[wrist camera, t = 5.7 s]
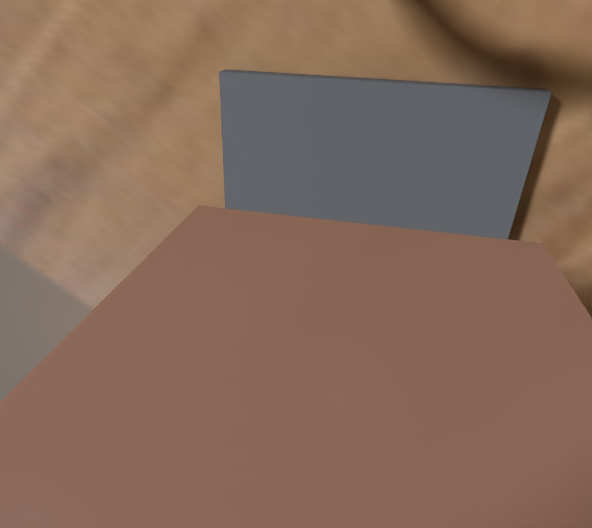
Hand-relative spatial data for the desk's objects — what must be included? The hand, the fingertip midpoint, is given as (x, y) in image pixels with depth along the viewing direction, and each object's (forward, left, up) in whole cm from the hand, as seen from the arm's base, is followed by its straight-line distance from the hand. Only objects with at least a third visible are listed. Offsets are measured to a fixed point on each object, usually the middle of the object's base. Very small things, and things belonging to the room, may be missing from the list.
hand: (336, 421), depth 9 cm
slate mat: (0, 0, -9) cm, 9 cm away
